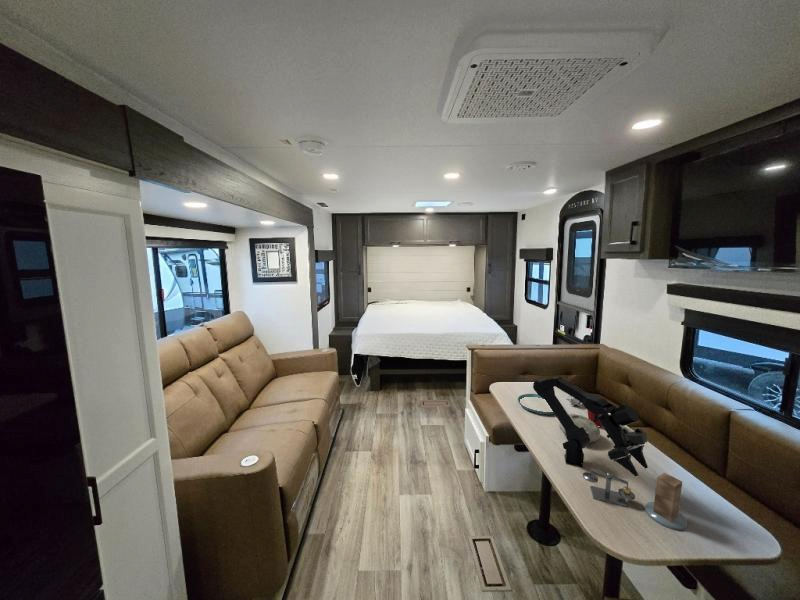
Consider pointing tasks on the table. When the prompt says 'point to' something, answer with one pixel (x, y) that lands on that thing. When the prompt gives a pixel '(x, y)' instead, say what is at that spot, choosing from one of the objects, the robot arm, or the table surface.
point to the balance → (608, 489)
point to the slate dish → (676, 524)
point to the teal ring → (529, 408)
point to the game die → (573, 401)
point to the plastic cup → (591, 417)
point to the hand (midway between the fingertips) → (642, 472)
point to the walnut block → (667, 496)
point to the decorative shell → (584, 426)
